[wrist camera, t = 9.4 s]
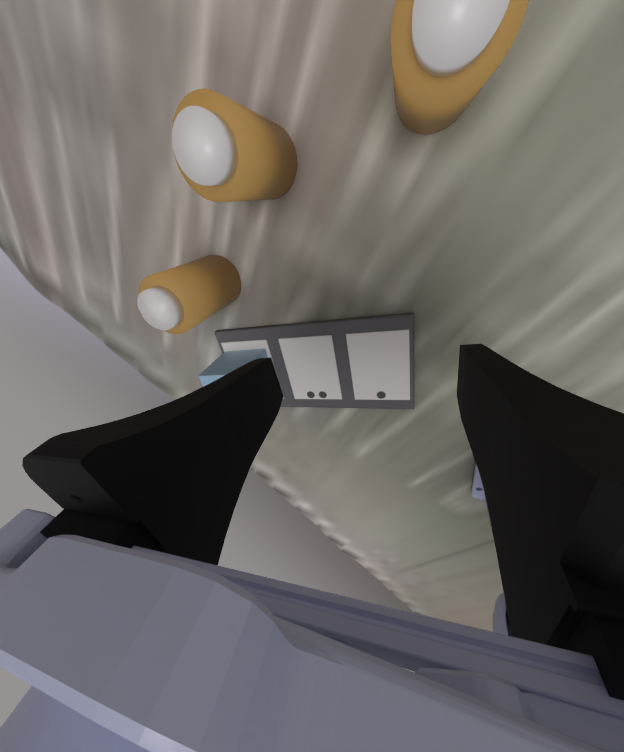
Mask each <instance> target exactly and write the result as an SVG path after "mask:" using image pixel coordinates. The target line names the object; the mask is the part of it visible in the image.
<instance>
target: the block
mask: <svg viewBox="0 0 624 752" xmlns="http://www.w3.org/2000/svg"><path fill="white" fill-rule="evenodd" d="M258 358H268V355H267V352H266V349H265V348H264V349H251V350H239V351H226V352H224V353H223V354H222V355H221V356H220V357H219V358H218V359H216V360H215V361H214V362H213V363H212V364H211V365H210V366H209V367H208V368H206V369H205V370H204V371H203V372H202V373H201V374H200V375H199V376H198V377H199V379H200V381H201V383H202V385H203V387H204V386H206V385H208V384H210V383H211V382H213V381H215V380H217V379H219V378H221V377H223V376H224V375H226V374H228V373H230V372H232V371H233V370H235V369H237V368H239V367H241V366H243V365H245V364H246V363H249V362H251V361H253V360H255V359H258Z"/></svg>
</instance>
